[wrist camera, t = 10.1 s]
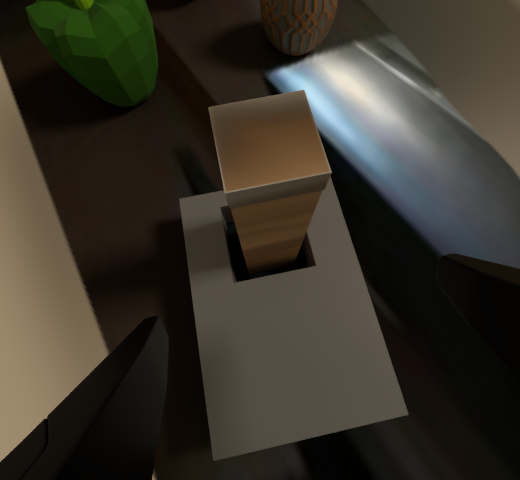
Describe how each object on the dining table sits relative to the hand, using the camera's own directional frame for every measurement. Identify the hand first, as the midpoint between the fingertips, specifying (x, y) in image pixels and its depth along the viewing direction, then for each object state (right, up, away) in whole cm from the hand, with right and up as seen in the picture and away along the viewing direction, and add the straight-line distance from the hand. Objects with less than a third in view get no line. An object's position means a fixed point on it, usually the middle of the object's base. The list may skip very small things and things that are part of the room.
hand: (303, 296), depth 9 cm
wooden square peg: (-1, +1, +13) cm, 13 cm away
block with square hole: (0, -3, +12) cm, 12 cm away
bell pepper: (-14, +17, +19) cm, 29 cm away
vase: (+2, +22, +20) cm, 30 cm away
